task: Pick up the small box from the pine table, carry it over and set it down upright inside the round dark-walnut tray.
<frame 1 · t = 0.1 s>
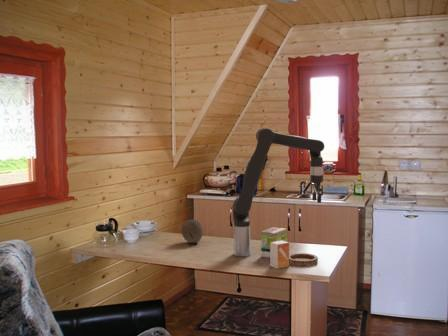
hand: (316, 201, 289), 29 cm above the table, fingers open, 8 cm apart
cantaloupe: (192, 243, 316), on the table
tray: (302, 262, 268), on the table
tea box: (274, 255, 284), on the table
small box: (279, 266, 261), on the table
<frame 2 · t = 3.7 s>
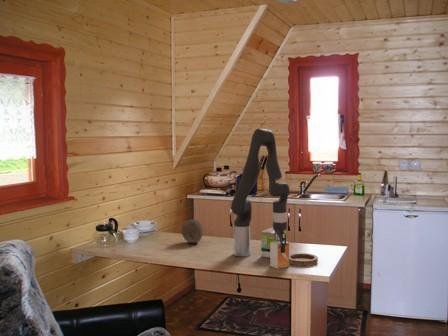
hand: (280, 250, 260), 8 cm above the table, fingers open, 8 cm apart
small box: (279, 266, 261), on the table, touching gripper
everything else where it was.
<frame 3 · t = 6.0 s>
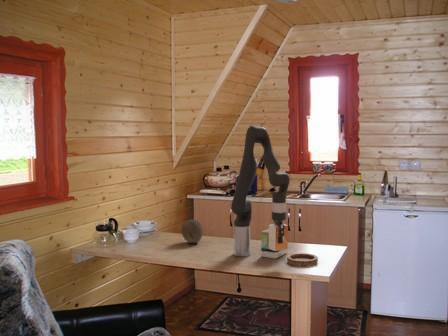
hand: (278, 241, 259), 14 cm above the table, fingers closed on small box, 7 cm apart
small box: (278, 249, 260), point 9 cm above the table, touching gripper
everything else where it was.
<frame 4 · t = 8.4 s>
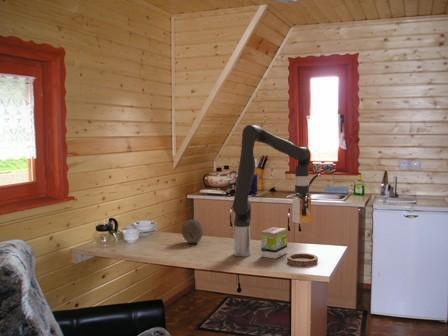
hand: (301, 214, 265), 26 cm above the table, fingers closed on small box, 7 cm apart
small box: (301, 222, 266), point 22 cm above the table, touching gripper
everything else where it was.
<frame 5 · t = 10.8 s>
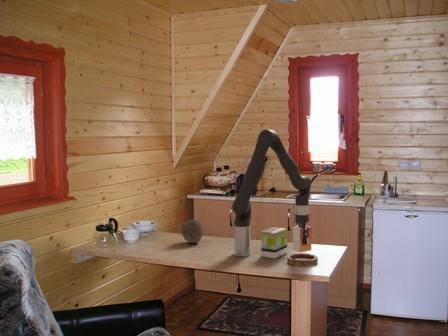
hand: (302, 242, 267), 11 cm above the table, fingers closed on small box, 7 cm apart
small box: (302, 250, 267), point 6 cm above the table, touching gripper
everything else where it was.
when the fingers open (6 cm above the table, at t = 12.6 s): small box drops 1 cm, resting on tray.
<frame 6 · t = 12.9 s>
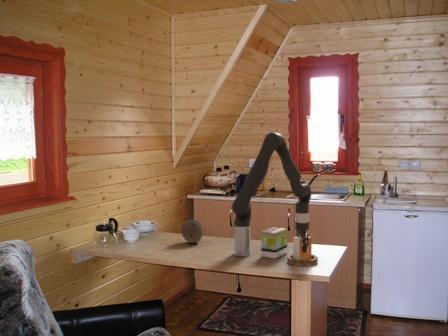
hand: (302, 250, 267), 7 cm above the table, fingers open, 8 cm apart
small box: (302, 261, 267), point 1 cm above the table, touching tray
everything else where it was.
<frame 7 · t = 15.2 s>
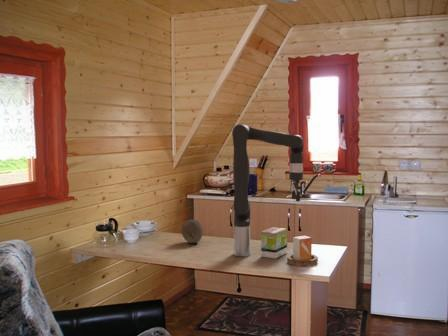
hand: (295, 200, 274), 33 cm above the table, fingers open, 8 cm apart
nothing on the table moved.
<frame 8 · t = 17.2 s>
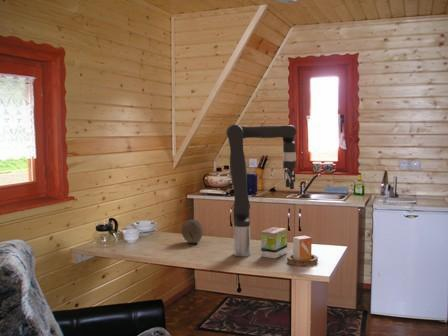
hand: (289, 188, 284), 38 cm above the table, fingers open, 8 cm apart
nothing on the table moved.
at the end: small box 0.2 cm from the tray (horizontally); small box tilted 0°; small box point 0.6 cm above the table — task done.
